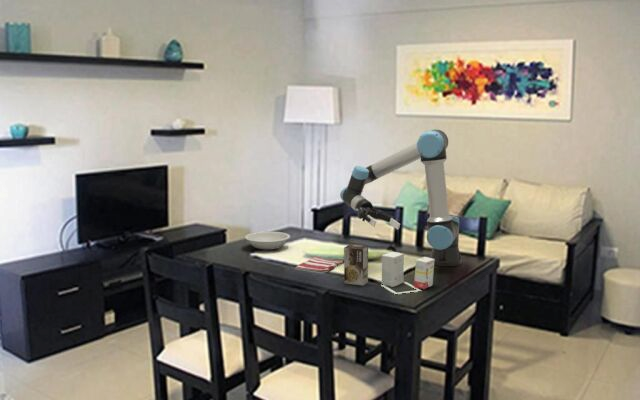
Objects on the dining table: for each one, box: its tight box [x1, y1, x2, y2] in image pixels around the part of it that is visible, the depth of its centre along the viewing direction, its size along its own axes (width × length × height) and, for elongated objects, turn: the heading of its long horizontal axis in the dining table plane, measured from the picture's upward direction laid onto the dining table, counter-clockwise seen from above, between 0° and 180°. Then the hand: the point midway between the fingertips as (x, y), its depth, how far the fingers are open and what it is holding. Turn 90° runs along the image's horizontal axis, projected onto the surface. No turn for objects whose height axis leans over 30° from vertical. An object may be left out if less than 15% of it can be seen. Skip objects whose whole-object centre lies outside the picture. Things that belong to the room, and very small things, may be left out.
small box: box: [381, 251, 405, 288], centre depth 265 cm, size 8×6×13 cm
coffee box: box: [343, 243, 369, 286], centre depth 266 cm, size 9×6×16 cm
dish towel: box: [294, 255, 344, 274], centre depth 295 cm, size 17×23×3 cm
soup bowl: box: [244, 231, 291, 250], centre depth 329 cm, size 24×24×7 cm
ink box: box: [413, 256, 435, 290], centre depth 260 cm, size 9×5×12 cm, turn 144°
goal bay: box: [380, 281, 423, 295], centre depth 259 cm, size 12×13×1 cm
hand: (387, 225), depth 273 cm, fingers open, 13 cm apart
